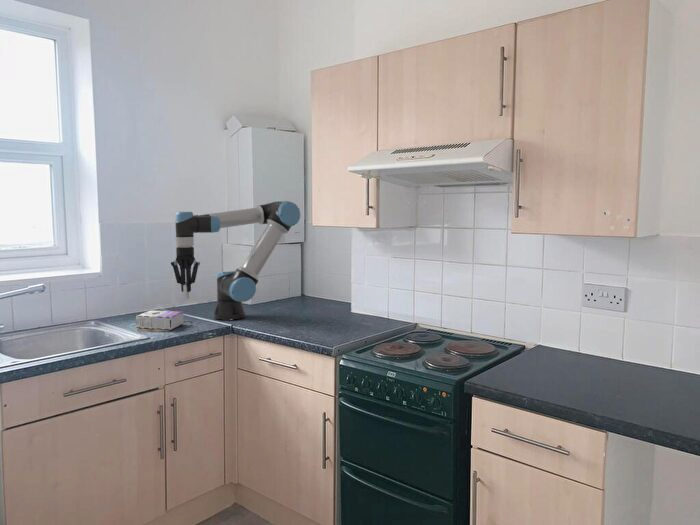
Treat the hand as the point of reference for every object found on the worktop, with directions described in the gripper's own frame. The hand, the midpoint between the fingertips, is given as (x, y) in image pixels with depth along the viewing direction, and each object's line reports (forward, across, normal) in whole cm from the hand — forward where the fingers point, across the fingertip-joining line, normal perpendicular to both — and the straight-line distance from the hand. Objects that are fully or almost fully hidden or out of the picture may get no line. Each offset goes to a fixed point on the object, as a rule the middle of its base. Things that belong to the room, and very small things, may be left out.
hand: (186, 298), depth 250 cm
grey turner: (+14, +11, -12) cm, 21 cm away
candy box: (+10, +4, 0) cm, 11 cm away
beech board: (+13, +12, 0) cm, 18 cm away
